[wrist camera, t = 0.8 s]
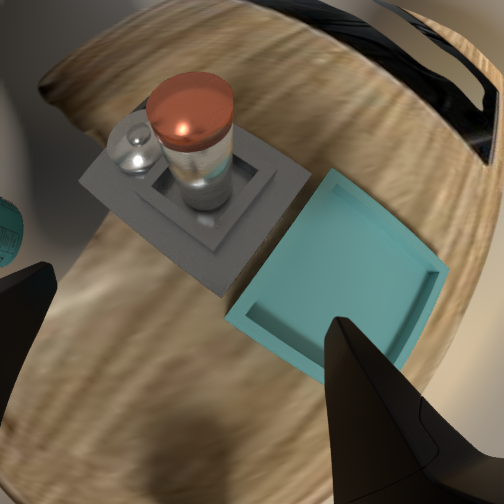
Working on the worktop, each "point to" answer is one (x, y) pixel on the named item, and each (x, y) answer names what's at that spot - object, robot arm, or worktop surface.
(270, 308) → the tray
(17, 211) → the teal can
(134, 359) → the worktop surface
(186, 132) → the pin
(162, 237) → the block
